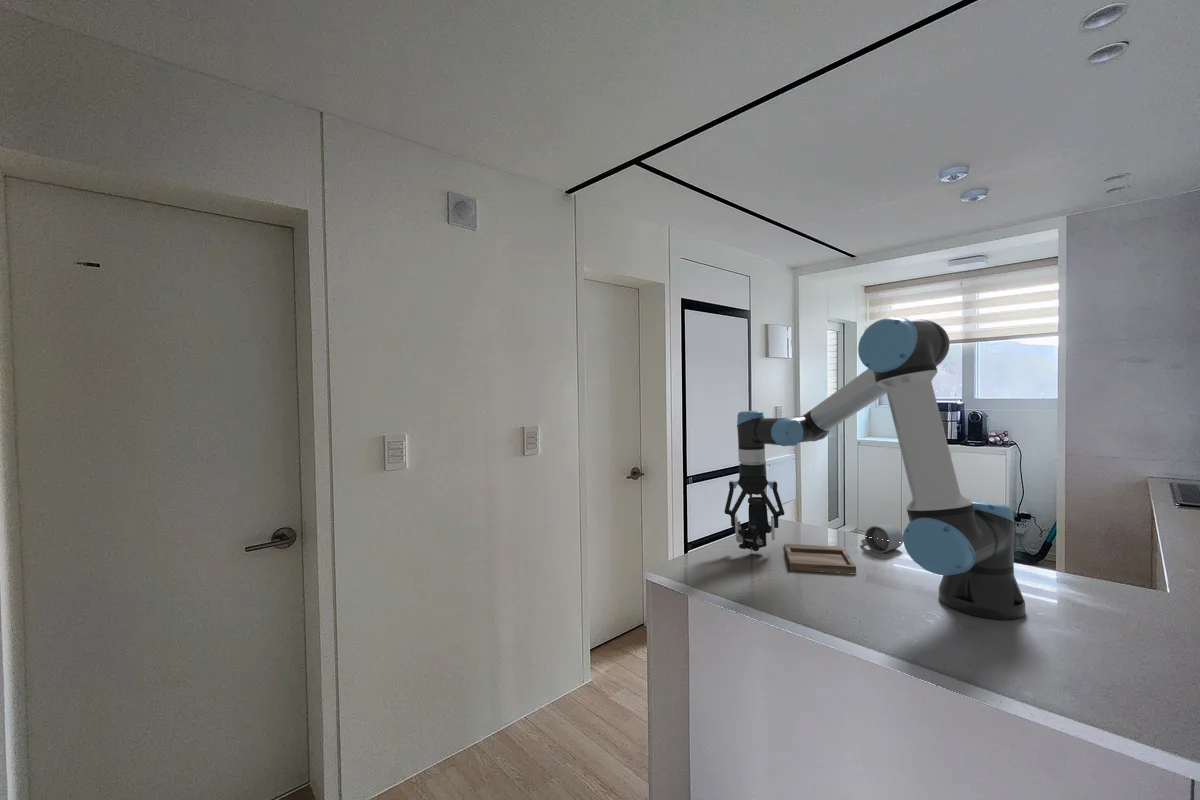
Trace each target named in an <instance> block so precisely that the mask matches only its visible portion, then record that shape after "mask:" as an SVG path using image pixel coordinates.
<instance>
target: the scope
mask: <svg viewBox="0 0 1200 800" xmlns="http://www.w3.org/2000/svg"><path fill="white" fill-rule="evenodd" d="M747 503H748V522H747V529H746V528H742V527H741V521H740V520H738V529H737V530H738V536H737V538H736V537H735V541H736V542H737V543H738V544H739V545H738V548H739V549H741V550H752V551H753V552H758V551H759V550H760V549H761V548H765V547H767V534H771V531H772V528H771V524H770V525H769V517H768V506H767V504H766V502H765V501H764V499H763V498H762V496H751V497H748V498H747Z"/></svg>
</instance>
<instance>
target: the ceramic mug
mask: <svg viewBox="0 0 1200 800" xmlns="http://www.w3.org/2000/svg"><path fill="white" fill-rule="evenodd" d="M903 534H904V533H903V532H902V531H901V529H899V527H897V526H896V525H893V524H888V523H887V524H879V525H872V526H869V527H868V528H867V529H866V530H865V534H864V538H863V539H861V540H860V542H861V545H862V546H865V545H867V546H868V548H869V549H870V550H871V551H872V552H875V553H878V554H883V553H887V552H889V551H890V552H891V551H893V550H896V549H898V548H900V547H901V546H902V545H903V544H904V542H903ZM865 536H867V537H865ZM869 537H872V538H869ZM877 538H878V539H877ZM882 539H883V540H882ZM887 540H889V541H887ZM899 542H901V543H899Z"/></svg>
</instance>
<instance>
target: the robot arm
mask: <svg viewBox="0 0 1200 800" xmlns="http://www.w3.org/2000/svg"><path fill="white" fill-rule="evenodd" d="M950 344H951V342H950V338H949V335H948V333H947V331H946V330H945V329H944V328H943V327H942V326H941V325H940V324H938V323H936V322H935V321H932V320H929V319H921V318H920V319H915V318H907V317H901V316H895V317H886V318H881V319H879V320H876V321H875V322H873V323H871V324H869V326H868V327H867V328H866V329H865V330H864V332H863V334H862V335H861V336H860V339H859V342H858V348H857V349H858V357H859V359H860V361H861V363H862V364H863V366H865V367H866V368H867V369H866V370H865V371H863V372H861V373H860V374H859V375H858V376H856V377H854V378H853V379H852V380H850V381H849V382H848V383H845V384H844V385H843V386H842V387H840V388H838V390H836V391H834V393H832V394H831V395H829V396H828V397H827V398H825V399H824V400H822V401H821V402H820V403H818V404H817V405H816V406H814V407H813V408H812V409H810V410H808V411H807V412H806V413H804V414H802V415H798V416H789V417H788V416H787V417H772V418H771V417H767V418H766V417H765V416H764V412H763V411H762V410H741V411H739V412H738V413H737V420H736V423H737V424H736V429H737V442H738V444H737V445H738V448H737V449H738V451H737V452H738V462H739V465H738V473H739V474H738V475H739V478H738V480H729V482H728V485H729V486H728V488H729V491H728V494H727V498H726V502H725V503H726V504H725V507H724V514H725V515H729V516H730V524H731V525H730V526H731V527H732V528H734V531H735V539H736V538H737V536H738V530H737V529H738V521H739V518H738V514H737V512H738V511H739V508H740V507H741V504H742V503H743V501H744V499H745V497H747V496H746V495H749V496H750V495H756V496H759V495H760V497H762V498H763V499H764V501H765V502H766V504H765V505H767V508H768V509H769V510H770V512H771V514H772V515H770V526H771V528H772V531H771V532H770V534H771V540H772V541H775V540H776V535H775V531H776V529H778V528H779V518H780V517H782V516H785V510H784V508H783V505H782V504H783V503H782V501H781V497H780V494H779V492H778V491H779V490H778V482H777V481H776V480H773V481H772V480H771V481H770V480H768V479H767V473H766V470H767V469H766V464H765V462H766V449H765V448H766V447H765V446H766V445H772V446H774V445H775V446H782V447H790V446H791V447H794V446H797V445H798V444H799V443H808V442H817V441H819V440H824V439H825V438H826V437H828V436H829V435H828V434H829V433H830V431H831V430H832V429H833V428H835V427H837V426H838V425H839V424H841V423H843V422H844V421H846V420H847V419H849V418H850V417H852V416H854V415H855V414H857V413H858V412H859V411H861V410H863V409H864V408H866V407H867V406H869V405H870V404H872V403H874V402H875V401H877V400H878V399H880V398H881V397H883V396H884V395H886V396H887V400H888V404H889V409H890V412H891V413H890V414H891V416H892V417H891V418H892V420H893V423H894V429H895V433H896V438H897V441H898V445H899V449H900V453H901V458H902V461H903V466H904V471H905V473H906V479H907V482H908V487H909V490H910V494H911V501H910V502H909V503H908V505H907V506H906V512H907V516H908V524H907V526H906V528H905V529H904V530H903V533H902V534H903V544H904V548H905V550H906V552H907V555H908V556H909V557H910V558H911V560H913V562H914V563H915V564H917V565H918V566H919V567H921V568H922V569H924V570H925V571H927V572H929V573H932V574H934V575H939V576H942V578H941V580H940V583H939V585H938V598H939V600H940V602H942V603H943V604H944V605H946V606H948V607H950V608H952V609H954V610H955V611H957V612H958V611H959V612H962V613H965V614H968V615H972V616H974V617H975V616H976V617H980V618H983V619H984V618H985V619H991V620H992V619H994V620H1016V619H1020V618H1023V617H1024V616H1025V615H1026V602H1025V598H1024V596H1023V594H1022V592H1021V589H1020V587H1019V583H1018V582H1017V579H1016V577H1015V570H1014V566H1015V565H1014V563H1015V562H1014V561H1015V560H1014V557H1015V556H1014V555H1015V554H1014V547H1015V546H1014V524H1015V520H1014V517H1013V511H1012V510H1013V509H1012V508H1011V507H1010V506H1009V505H1008V504H1004V503H1000V502H994V501H989V500H982V499H981V500H980V499H975V498H974V499H973V498H966V497H965V496H963V495H962V493H961V490H960V487H959V482H958V480H957V475H956V472H955V471H956V470H955V467H954V463H953V459H952V456H951V452H950V448H949V444H948V441H947V437H946V433H945V428H944V425H943V421H942V417H941V413H940V410H939V406H938V402H937V398H936V395H935V394H936V393H935V390H934V387H933V383H932V381H933V380H934V378H935V376H936V375H937V374H938V368H937V366H938V365H940V364H941V363H943V361H944V360H945V359H946V358H947V356H948V353H949V350H950ZM737 486H739V487H740V488H741V491H740V494H739V496H738V497H737V499H736V501H735V504H734V505H733V508H732V509H731V505H732V500H733V496H734V491H735V489H737ZM768 486H769V488H770V489H771V490H772V492H773V496H774V498H775V502H776V505H777V508H778V510H776V508H775V507H774V505H773V503H772V502H771V500H770V498H769V496H767V494H766V492H765V489H766V487H768Z"/></svg>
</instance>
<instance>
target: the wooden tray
mask: <svg viewBox="0 0 1200 800" xmlns="http://www.w3.org/2000/svg"><path fill="white" fill-rule="evenodd" d="M784 550H785V555H786V554H787V555H786V558H787V561H788V565H789V569H791V570H790V571H795V570H799V571H798V572H811V571H823V572H822V573H827V572H840V573H839V574H843V573H856V574H857V566H856V564H855V563H854V561H853V559H852V557H851V556H850V554H849V553H848V552H847V550H846V549H844V548H843V547H842V546H838V545H821V544H820V545H818V544H815V545H814V544H800V543H799V544H795V543H784Z"/></svg>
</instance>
